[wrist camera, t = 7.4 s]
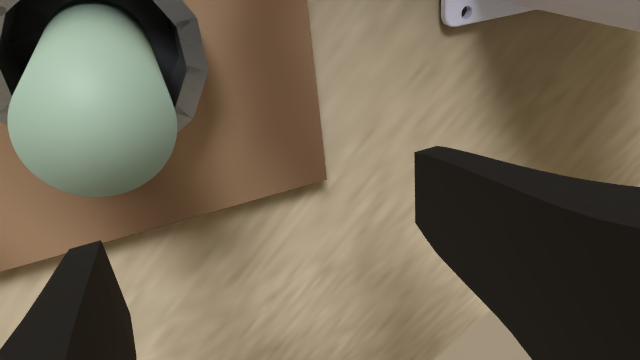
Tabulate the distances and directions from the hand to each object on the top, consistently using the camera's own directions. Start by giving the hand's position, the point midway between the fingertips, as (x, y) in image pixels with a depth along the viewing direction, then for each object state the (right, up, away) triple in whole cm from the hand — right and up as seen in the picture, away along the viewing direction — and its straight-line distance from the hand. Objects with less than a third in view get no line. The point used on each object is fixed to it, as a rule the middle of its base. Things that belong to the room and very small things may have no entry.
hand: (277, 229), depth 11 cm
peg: (-6, +5, +4) cm, 9 cm away
